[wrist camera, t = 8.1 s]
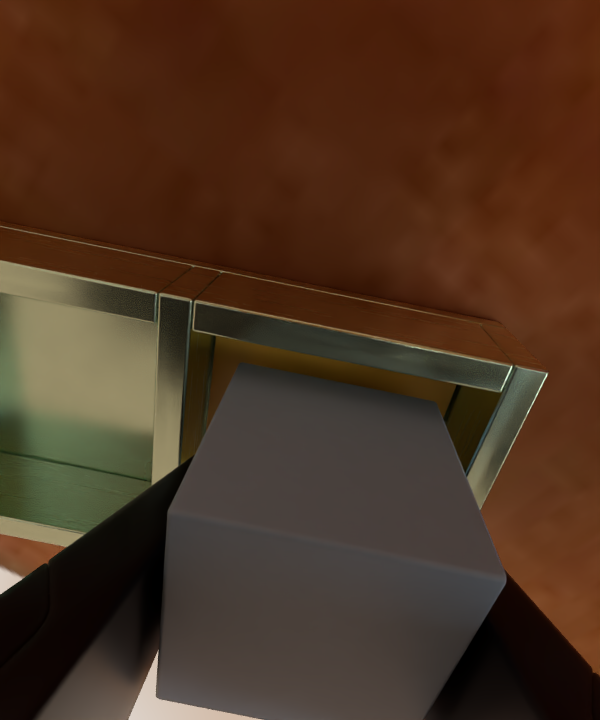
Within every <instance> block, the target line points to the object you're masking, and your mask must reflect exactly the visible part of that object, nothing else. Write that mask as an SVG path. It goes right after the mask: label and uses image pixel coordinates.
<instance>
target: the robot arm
mask: <svg viewBox="0 0 600 720" xmlns="http://www.w3.org/2000/svg"><path fill="white" fill-rule="evenodd" d="M194 456H195V455H193V456H192V457H190V458H189V459H188V460H186V461H185V462H184V463H182V464H181V465H179V466H178V467H177V468H175V469H174V470H173V471H171V472H170V473H168V474H167V475H166V476H164V477H163V478H161V479H160V480H159V481H157V482H156V483H155V484H153V485H152V486H150V487H149V488H148V489H146V490H145V491H144V492H142V493H141V494H139V495H138V496H137V497H135V498H134V499H133V500H131V501H130V502H128V503H127V504H126V505H124V506H123V507H122V508H120V509H119V510H117V511H116V512H115V513H113V514H112V515H111V516H109V517H108V518H106V519H105V520H104V521H102V522H101V523H100V524H98V525H97V526H95V527H94V528H93V529H91V530H90V531H88V532H87V533H86V534H84V535H83V536H82V537H80V538H79V539H77V540H76V541H75V542H73V543H72V544H71V545H69V546H68V547H66V548H65V549H64V550H62V551H61V552H60V553H58V554H57V555H55V556H54V557H53V558H51V559H50V560H49V562H48V564H46V563H45V564H43V565H41V566H40V567H39V568H37V569H36V570H34V571H33V572H32V573H30V574H29V575H28V576H26V577H25V578H23V579H22V580H21V581H19V582H18V583H16V584H15V585H14V586H12V587H11V588H9V589H8V590H6V591H5V592H4V593H2V594H0V720H128V718H129V716H130V714H131V712H132V709H133V707H134V705H135V702H136V700H137V698H138V695H139V693H140V691H141V689H142V686H143V684H144V682H145V679H146V677H147V675H148V672H149V670H150V668H151V665H152V663H153V661H154V658H155V656H156V654H157V651H158V649H159V637H160V622H161V606H162V591H163V576H164V560H165V545H166V529H167V514H168V510H169V507H170V505H171V503H172V501H173V499H174V497H175V495H176V493H177V491H178V489H179V487H180V485H181V483H182V481H183V478H184V476H185V474H186V472H187V470H188V468H189V466H190V464H191V462H192V460H193V458H194ZM503 569H504V568H503ZM504 571H505V570H504ZM505 574H506V579H507V580H506V584H505V586H504V587H503V589H502V591H501V592H500V594H499V596H498V597H497V599H496V601H495V602H494V604H493V606H492V607H491V609H490V611H489V612H488V614H487V616H486V617H485V619H484V621H483V622H482V624H481V626H480V627H479V629H478V631H477V632H476V634H475V636H474V637H473V639H472V641H471V642H470V644H469V646H468V647H467V649H466V651H465V652H464V654H463V656H462V657H461V659H460V661H459V662H458V664H457V666H456V667H455V669H454V671H453V672H452V674H451V676H450V677H449V679H448V681H447V682H446V684H445V686H444V687H443V689H442V691H441V692H440V694H439V696H438V697H437V699H436V701H435V702H434V704H433V706H432V707H431V709H430V711H429V712H428V714H427V716H426V717H425V720H600V676H599V675H598V674H597V673H593V671H592V668H591V666H590V665H589V664H588V663H587V662H586V661H585V660H584V658H583V657H582V656H581V655H580V654H579V653H578V652H577V651H576V649H575V648H574V647H573V646H572V645H571V644H570V643H569V642H568V640H567V639H566V638H565V637H564V636H563V635H562V634H561V633H560V631H559V630H558V629H557V628H556V627H555V626H554V625H553V624H552V622H551V621H550V620H549V619H548V618H547V617H546V616H545V615H544V613H543V612H542V611H541V610H540V609H539V608H538V607H537V606H536V604H535V603H534V602H533V601H532V600H531V599H530V598H529V597H528V595H527V594H526V593H525V592H524V591H523V590H522V589H521V588H520V586H519V585H518V584H517V583H516V582H515V581H514V580H513V579H512V577H511V576H510V575H509V574H508V573H507V572H506V571H505Z"/></svg>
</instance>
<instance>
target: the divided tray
mask: <svg viewBox="0 0 600 720" xmlns="http://www.w3.org/2000/svg"><path fill="white" fill-rule="evenodd" d="M242 362H244V363H249V364H253V365H258V366H263V367H268V368H273V369H278V370H283V371H288V372H293V373H298V374H303V375H308V376H312V377H317V378H322V379H327V380H332V381H337V382H342V383H347V384H352V385H357V386H362V387H367V388H371V389H376V390H381V391H386V392H391V393H396V394H401V395H406V396H411V397H416V398H421V399H426V400H431V401H434V402H436V403H437V405H438V408H439V410H440V413H441V415H442V418H443V420H444V423H445V425H446V427H447V430H448V432H449V435H450V437H451V440H452V442H453V445H454V447H455V450H456V452H457V455H458V457H459V460H460V462H461V465H462V467H463V470H464V472H465V475H466V477H467V479H468V482H469V484H470V487H471V489H472V492H473V494H474V497H475V499H476V502H477V504H478V507H479V509H480V510H481V508H482V506H483V504H484V502H485V500H486V498H487V496H488V494H489V492H490V490H491V488H492V486H493V484H494V482H495V480H496V478H497V476H498V474H499V472H500V470H501V468H502V466H503V464H504V462H505V460H506V458H507V456H508V454H509V452H510V450H511V448H512V446H513V444H514V442H515V440H516V438H517V436H518V434H519V432H520V430H521V428H522V426H523V424H524V422H525V420H526V418H527V416H528V414H529V412H530V410H531V408H532V406H533V404H534V402H535V400H536V398H537V396H538V394H539V392H540V390H541V388H542V386H543V384H544V382H545V380H546V378H547V376H548V374H549V371H548V370H547V369H546V368H545V367H544V366H543V365H542V364H541V363H540V362H539V361H538V360H537V359H536V358H535V357H534V356H533V355H532V354H531V353H530V352H529V351H528V350H527V349H526V348H525V347H524V346H523V345H522V344H521V343H520V342H519V341H518V340H517V339H516V338H515V337H514V336H513V335H512V334H511V333H510V332H509V331H508V330H507V329H506V327H505V326H504V325H503V324H502V323H500V322H496V321H491V320H486V319H481V318H476V317H471V316H466V315H461V314H456V313H452V312H447V311H442V310H437V309H432V308H427V307H422V306H417V305H412V304H407V303H402V302H397V301H392V300H387V299H382V298H377V297H372V296H368V295H363V294H358V293H353V292H348V291H343V290H338V289H333V288H328V287H323V286H318V285H313V284H308V283H303V282H298V281H293V280H288V279H284V278H279V277H274V276H269V275H264V274H259V273H254V272H249V271H244V270H239V269H234V268H229V267H224V266H219V265H214V264H209V263H205V262H200V261H195V260H190V259H185V258H180V257H175V256H170V255H165V254H160V253H155V252H150V251H145V250H140V249H135V248H130V247H125V246H121V245H116V244H111V243H106V242H101V241H96V240H91V239H86V238H81V237H76V236H71V235H66V234H61V233H56V232H51V231H46V230H42V229H37V228H32V227H27V226H22V225H17V224H12V223H7V222H2V221H0V534H4V535H9V536H14V537H19V538H24V539H29V540H34V541H39V542H44V543H49V544H54V545H59V546H64V547H68V546H69V545H71V544H72V543H73V542H75V541H76V540H77V539H79V538H80V537H82V536H83V535H84V534H86V533H87V532H88V531H90V530H91V529H93V528H94V527H95V526H97V525H98V524H100V523H101V522H102V521H104V520H105V519H106V518H108V517H109V516H111V515H112V514H113V513H115V512H116V511H117V510H119V509H120V508H122V507H123V506H124V505H126V504H127V503H128V502H130V501H131V500H133V499H134V498H135V497H137V496H138V495H139V494H141V493H142V492H144V491H145V490H146V489H148V488H149V487H150V486H152V485H153V484H155V483H156V482H157V481H159V480H160V479H161V478H163V477H164V476H166V475H167V474H168V473H170V472H171V471H173V470H174V469H175V468H177V467H178V466H179V465H181V464H182V463H184V462H185V461H186V460H188V459H189V458H190V457H192V456H193V455H195V454H196V452H197V450H198V447H199V445H200V443H201V441H202V439H203V437H204V435H205V433H206V431H207V429H208V427H209V425H210V423H211V421H212V418H213V416H214V414H215V412H216V410H217V408H218V406H219V404H220V402H221V400H222V398H223V396H224V394H225V392H226V389H227V387H228V385H229V383H230V381H231V379H232V377H233V375H234V373H235V371H236V369H237V367H238V365H239V363H242Z"/></svg>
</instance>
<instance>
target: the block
mask: <svg viewBox="0 0 600 720" xmlns="http://www.w3.org/2000/svg"><path fill="white" fill-rule="evenodd" d="M506 580H507V579H506V574H505V571H504V569H503V566H502V564H501V561H500V559H499V556H498V554H497V551H496V549H495V546H494V544H493V541H492V539H491V536H490V534H489V531H488V529H487V527H486V524H485V522H484V519H483V517H482V514H481V512H480V509H479V507H478V504H477V502H476V499H475V497H474V494H473V492H472V489H471V487H470V484H469V482H468V479H467V477H466V475H465V472H464V470H463V467H462V465H461V462H460V460H459V457H458V455H457V452H456V450H455V447H454V445H453V442H452V440H451V437H450V435H449V432H448V430H447V427H446V425H445V423H444V420H443V418H442V415H441V413H440V410H439V408H438V405H437V403H436V402H434V401H431V400H426V399H421V398H416V397H411V396H406V395H401V394H396V393H391V392H386V391H381V390H376V389H371V388H367V387H362V386H357V385H352V384H347V383H342V382H337V381H332V380H327V379H322V378H317V377H312V376H308V375H303V374H298V373H293V372H288V371H283V370H278V369H273V368H268V367H263V366H258V365H253V364H249V363H244V362H242V363H239V365H238V367H237V369H236V371H235V373H234V375H233V377H232V379H231V381H230V383H229V385H228V387H227V389H226V392H225V394H224V396H223V398H222V400H221V402H220V404H219V406H218V408H217V410H216V412H215V414H214V416H213V418H212V421H211V423H210V425H209V427H208V429H207V431H206V433H205V435H204V437H203V439H202V441H201V443H200V445H199V447H198V450H197V452H196V454H195V456H194V458H193V460H192V462H191V464H190V466H189V468H188V470H187V472H186V474H185V476H184V478H183V481H182V483H181V485H180V487H179V489H178V491H177V493H176V495H175V497H174V499H173V501H172V503H171V505H170V507H169V510H168V514H167V529H166V545H165V560H164V576H163V591H162V606H161V622H160V637H159V654H158V668H157V685H156V697H157V698H159V699H162V700H167V701H172V702H177V703H182V704H187V705H192V706H197V707H202V708H207V709H212V710H217V711H223V712H227V713H233V714H238V715H243V716H248V717H253V718H258V719H264V720H424V719H425V717H426V716H427V714H428V712H429V711H430V709H431V707H432V706H433V704H434V702H435V701H436V699H437V697H438V696H439V694H440V692H441V691H442V689H443V687H444V686H445V684H446V682H447V681H448V679H449V677H450V676H451V674H452V672H453V671H454V669H455V667H456V666H457V664H458V662H459V661H460V659H461V657H462V656H463V654H464V652H465V651H466V649H467V647H468V646H469V644H470V642H471V641H472V639H473V637H474V636H475V634H476V632H477V631H478V629H479V627H480V626H481V624H482V622H483V621H484V619H485V617H486V616H487V614H488V612H489V611H490V609H491V607H492V606H493V604H494V602H495V601H496V599H497V597H498V596H499V594H500V592H501V591H502V589H503V587H504V586H505V584H506Z"/></svg>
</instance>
